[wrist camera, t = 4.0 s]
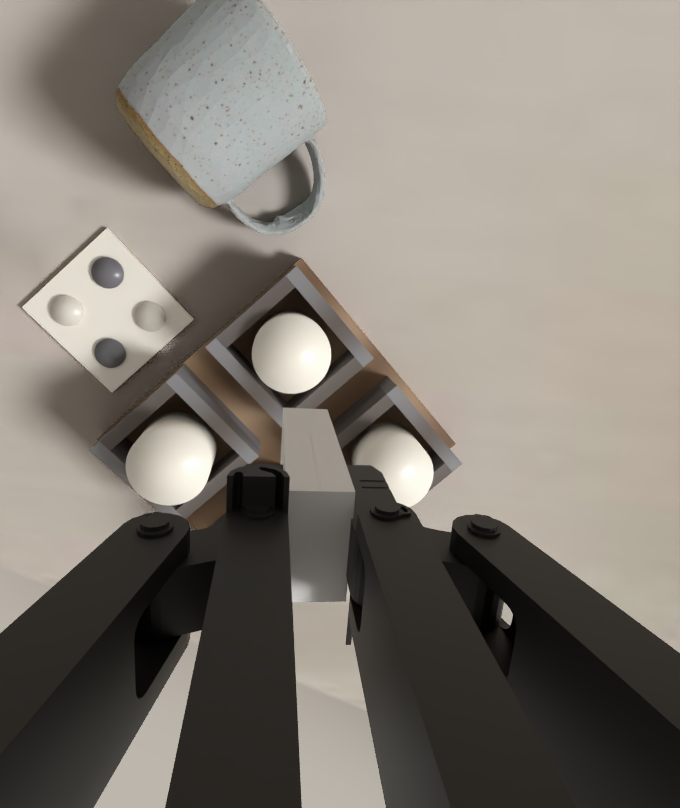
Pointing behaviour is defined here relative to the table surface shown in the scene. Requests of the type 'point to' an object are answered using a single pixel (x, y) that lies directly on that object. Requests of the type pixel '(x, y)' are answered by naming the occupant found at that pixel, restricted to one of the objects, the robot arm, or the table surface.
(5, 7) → the table surface
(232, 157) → the ceramic mug
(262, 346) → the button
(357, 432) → the button board
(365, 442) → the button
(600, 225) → the table surface
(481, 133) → the table surface
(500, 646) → the robot arm
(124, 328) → the card
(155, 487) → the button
